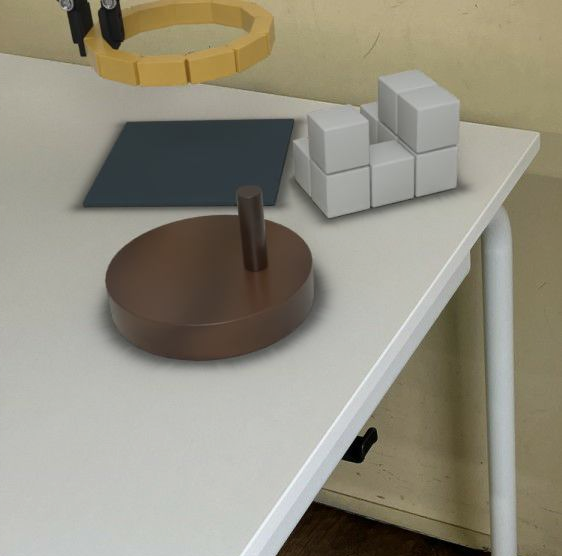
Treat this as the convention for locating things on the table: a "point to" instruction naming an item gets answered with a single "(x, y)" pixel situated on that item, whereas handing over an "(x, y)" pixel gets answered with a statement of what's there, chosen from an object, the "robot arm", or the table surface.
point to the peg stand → (212, 284)
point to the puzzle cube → (381, 147)
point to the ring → (187, 67)
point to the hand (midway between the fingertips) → (101, 49)
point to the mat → (192, 163)
